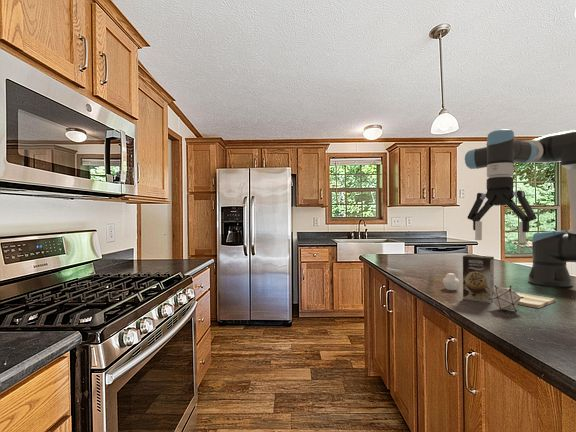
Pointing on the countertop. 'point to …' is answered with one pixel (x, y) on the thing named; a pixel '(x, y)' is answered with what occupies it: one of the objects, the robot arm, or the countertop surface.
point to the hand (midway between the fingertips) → (499, 241)
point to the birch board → (534, 300)
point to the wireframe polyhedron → (505, 298)
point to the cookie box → (478, 278)
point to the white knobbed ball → (451, 281)
